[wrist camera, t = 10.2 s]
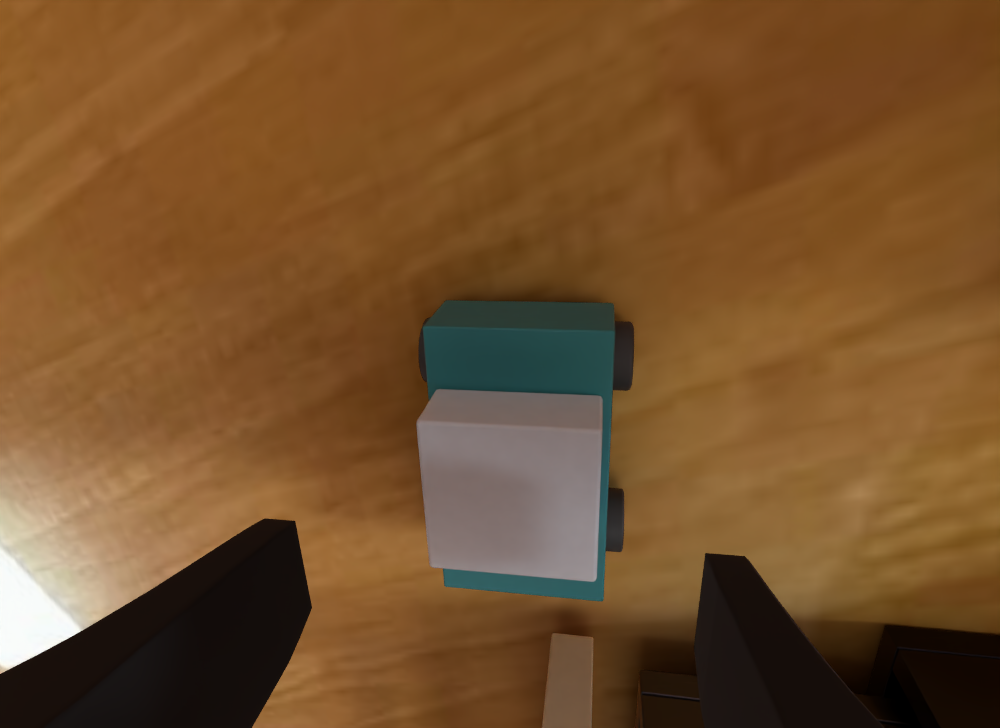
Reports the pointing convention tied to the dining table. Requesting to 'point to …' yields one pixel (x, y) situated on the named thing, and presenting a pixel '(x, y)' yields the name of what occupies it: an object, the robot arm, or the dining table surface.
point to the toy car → (522, 444)
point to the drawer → (655, 694)
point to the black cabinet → (940, 675)
